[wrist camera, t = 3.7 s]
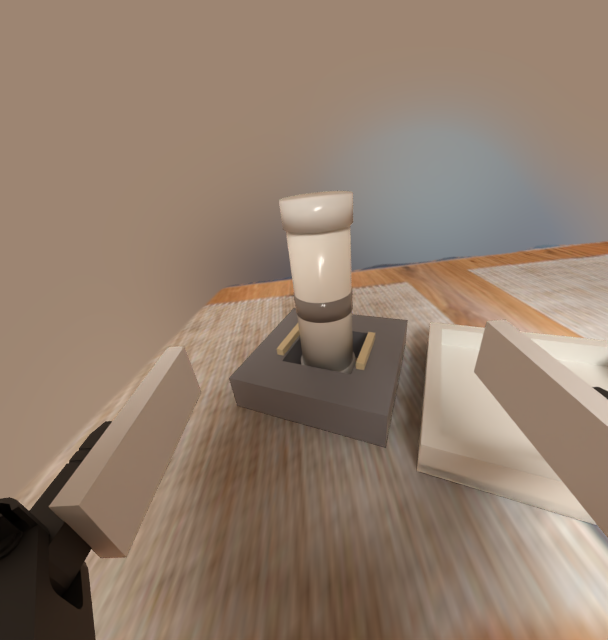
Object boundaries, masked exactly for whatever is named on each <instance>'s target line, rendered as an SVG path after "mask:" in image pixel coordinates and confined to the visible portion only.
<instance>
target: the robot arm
mask: <svg viewBox="0 0 608 640" xmlns="http://www.w3.org/2000/svg"><path fill="white" fill-rule="evenodd" d="M474 373H475V374H476V375H477V376H478V378H479V379H480V380H481V381H482V383H483V384H484V385H485V386H486V388H487V389H488V390H489V391H490V393H491V394H492V395H493V396H494V397H495V399H496V400H497V401H498V402H499V404H500V405H501V406H502V407H503V409H504V410H505V411H506V412H507V414H508V415H509V416H510V417H511V419H512V420H513V421H514V422H515V423H516V425H517V426H518V427H519V428H520V430H521V431H522V432H523V433H524V435H525V436H526V437H527V438H528V440H529V441H530V442H531V443H532V445H533V446H534V447H535V448H536V450H537V451H538V452H539V453H540V454H541V456H542V457H543V458H544V459H545V461H546V462H547V463H548V464H549V466H550V467H551V468H552V469H553V471H554V472H555V473H556V474H557V476H558V477H559V478H560V479H561V481H562V482H563V483H564V484H565V485H566V487H567V488H568V489H569V490H570V492H571V493H572V494H573V495H574V497H575V498H576V499H577V500H578V502H579V503H580V504H581V505H582V507H583V508H584V509H585V510H586V512H587V513H588V514H589V515H590V516H591V518H592V519H593V520H594V521H595V523H596V524H597V525H598V526H599V528H600V529H601V530H602V531H603V533H604V534H605V535H606V536H607V537H608V391H606V390H604V389H602V388H600V387H591V386H590V385H589V384H587V383H586V382H585V381H583V380H582V379H581V378H580V377H578V376H577V375H576V374H575V373H573V372H572V371H571V370H569V369H568V368H567V367H566V366H564V365H563V364H562V363H560V362H559V361H558V360H557V359H555V358H554V357H553V356H551V355H550V354H549V353H548V352H546V351H545V350H544V349H543V348H541V347H540V346H539V345H537V344H536V343H535V342H534V341H532V340H531V339H530V338H528V337H527V336H526V335H525V334H523V333H522V332H521V331H520V330H518V329H517V328H516V327H514V326H513V325H512V324H511V323H509V322H508V321H507V320H494V321H487V322H486V326H485V330H484V334H483V338H482V342H481V345H480V349H479V353H478V357H477V361H476V365H475V369H474ZM200 394H201V389H200V387H199V384H198V381H197V379H196V376H195V373H194V371H193V368H192V365H191V363H190V360H189V358H188V355H187V352H186V350H185V347H184V346H179V347H168V348H167V349H166V350H165V352H164V353H163V354H162V356H161V357H160V358H159V360H158V361H157V362H156V364H155V365H154V366H153V368H152V369H151V370H150V372H149V373H148V374H147V376H146V377H145V378H144V380H143V381H142V382H141V384H140V385H139V386H138V388H137V389H136V390H135V392H134V393H133V394H132V396H131V397H130V398H129V400H128V401H127V402H126V404H125V405H124V406H123V408H122V409H121V410H120V412H119V413H118V414H117V416H116V417H115V418H114V420H113V421H108V422H104V423H103V424H102V425H101V426H100V427H98V428H97V429H96V430H95V431H94V432H92V433H91V434H90V435H89V436H88V438H87V439H86V440H85V441H84V443H83V444H82V445H81V446H80V448H79V451H77V452H76V453H75V454H74V455H73V457H72V458H71V459H70V460H69V461H70V462H69V464H66V465H65V467H64V468H63V469H62V470H61V472H60V473H59V474H58V476H57V477H56V478H55V479H54V481H53V482H52V483H51V484H50V486H49V487H48V488H47V489H46V491H45V492H44V493H43V494H42V496H41V497H40V498H39V499H38V501H37V502H36V503H35V505H34V506H33V507H32V508H31V510H30V511H28V510H27V509H26V508H25V507H24V506H23V505H22V504H20V503H19V502H18V501H17V500H15V499H13V498H10V497H9V498H3V499H0V640H95V630H94V620H93V611H92V601H91V591H90V582H89V572H88V567H87V565H86V563H85V562H84V561H85V559H86V557H87V556H88V554H89V552H90V550H91V549H92V550H93V551H94V552H95V553H96V554H97V555H98V556H99V557H100V558H120V557H127V555H128V553H129V550H130V548H131V546H132V544H133V542H134V539H135V537H136V535H137V533H138V531H139V528H140V526H141V524H142V522H143V519H144V517H145V515H146V513H147V511H148V508H149V506H150V504H151V502H152V500H153V497H154V495H155V493H156V491H157V489H158V486H159V484H160V482H161V480H162V478H163V475H164V473H165V471H166V469H167V467H168V464H169V462H170V460H171V458H172V456H173V453H174V451H175V449H176V447H177V445H178V442H179V440H180V438H181V436H182V434H183V431H184V429H185V427H186V425H187V423H188V420H189V418H190V416H191V414H192V412H193V409H194V407H195V405H196V403H197V401H198V398H199V396H200Z"/></svg>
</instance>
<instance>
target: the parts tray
mask: <svg viewBox="0 0 608 640" xmlns="http://www.w3.org/2000/svg"><path fill="white" fill-rule="evenodd" d="M484 330H485V328H482V327H473V326H463V325H453V324H444V323H434V322H430V328H429V335H428V343H427V354H426V366H425V378H424V390H423V401H422V413H421V425H420V437H419V449H418V461H417V471H418V472H422V473H425V474H428V475H432V476H435V477H438V478H442V479H445V480H448V481H452V482H455V483H458V484H462V485H465V486H468V487H472V488H475V489H478V490H481V491H485V492H488V493H491V494H495V495H498V496H501V497H505V498H508V499H511V500H515V501H518V502H521V503H525V504H528V505H531V506H534V507H538V508H541V509H544V510H548V511H551V512H554V513H558V514H561V515H564V516H568V517H571V518H574V519H578V520H581V521H584V522H588V523H591V524H594V525H597V524H596V523H595V521H594V520H593V519H592V518H591V516H590V515H589V514H588V513H587V512H586V510H585V509H584V508H583V507H582V505H581V504H580V503H579V502H578V500H577V499H576V498H575V497H574V495H573V494H572V493H571V492H570V490H569V489H568V488H567V487H566V485H565V484H564V483H563V482H562V481H561V479H560V478H559V477H558V476H557V474H556V473H555V472H554V471H553V469H552V468H551V467H550V466H549V464H548V463H547V462H546V461H545V459H544V458H543V457H542V456H541V454H540V453H539V452H538V451H537V450H536V448H535V447H534V446H533V445H532V443H531V442H530V441H529V440H528V438H527V437H526V436H525V435H524V433H523V432H522V431H521V430H520V428H519V427H518V426H517V425H516V423H515V422H514V421H513V420H512V419H511V417H510V416H509V415H508V414H507V412H506V411H505V410H504V409H503V407H502V406H501V405H500V404H499V402H498V401H497V400H496V399H495V397H494V396H493V395H492V394H491V393H490V391H489V390H488V389H487V388H486V386H485V385H484V384H483V383H482V381H481V380H480V379H479V378H478V376H477V375H476V374H475V373H474V369H475V365H476V361H477V357H478V353H479V349H480V345H481V342H482V338H483V334H484ZM522 333H523V334H525V335H526V336H527V337H528V338H530V339H531V340H532V341H534V342H535V343H536V344H537V345H539V346H540V347H541V348H543V349H544V350H545V351H546V352H548V353H549V354H550V355H551V356H553V357H554V358H555V359H557V360H558V361H559V362H560V363H562V364H563V365H564V366H566V367H567V368H568V369H569V370H571V371H572V372H573V373H575V374H576V375H577V376H578V377H580V378H581V379H582V380H583V381H585V382H586V383H587V384H589V385H590V386H591V387H600V388H602V389H604V390H606V391H608V341H606V340H596V339H587V338H577V337H568V336H558V335H549V334H539V333H530V332H522ZM597 526H598V525H597Z"/></svg>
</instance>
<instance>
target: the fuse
mask: <svg viewBox="0 0 608 640" xmlns="http://www.w3.org/2000/svg"><path fill="white" fill-rule="evenodd" d="M279 205H280V211H281V219H282V226H283V230H284V231H286V233H287V242H288V249H289V257H290V264H291V272H292V280H293V287H294V300H295V307H296V314H297V318H298V325H299V333H300V340H301V348H302V357H301V365H306V366H311V367H316V368H321V369H327V370H332V371H337V372H342V373H348V374H351V373H352V371H353V368H354V366H355V354H354V352H353V333H352V309H353V302H352V286H351V241H350V225H351V224H352V223H353V193H352V192H350V191H328V192H317V193H308V194H301V195H296V196H291V197H286V198H283V199H280V200H279Z"/></svg>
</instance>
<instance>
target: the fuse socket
mask: <svg viewBox="0 0 608 640" xmlns="http://www.w3.org/2000/svg"><path fill="white" fill-rule="evenodd" d="M407 321H408V320H400V319H391V318H381V317H372V316H362V315H353V314H352V333H353V352H354V354H355V358H357V361H356V363H355V366H354V368H353V371H352V373H351V374H348V373H342V372H337V371H332V370H327V369H321V368H316V367H311V366H306V365H301V357H302V348H301V340H300V333H299V325H298V318H297V314H296V308H293V310H292V311H291V312H290V313H289V314H288V315H287V316H286V317H285V318H284V319H283V320H282V321H281V323H280V324H279V325H278V326H277V327H276V328H275V329H274V330H273V331H272V332H271V333H270V334H269V335H268V337H267V338H266V339H265V340H264V341H263V342H262V343H261V344H260V345H259V346H258V347H257V348H256V350H255V351H254V352H253V353H252V354H251V355H250V356H249V357H248V358H247V359H246V360H245V361H244V362H243V364H242V365H241V366H240V367H239V368H238V369H237V370H236V371H235V372H234V373H233V374H232V375H231V377H230V378H229V380H230V383H231V386H232V390H233V393H234V396H235V399H236V403H237V406H240V407H244V408H247V409H251V410H255V411H258V412H262V413H265V414H269V415H272V416H276V417H279V418H283V419H286V420H290V421H293V422H297V423H301V424H304V425H308V426H311V427H315V428H318V429H322V430H325V431H329V432H332V433H336V434H339V435H343V436H347V437H350V438H354V439H357V440H361V441H364V442H368V443H371V444H375V445H378V446H382V447H385V448H386V443H387V438H388V432H389V427H390V422H391V417H392V412H393V407H394V401H395V396H396V391H397V386H398V381H399V376H400V370H401V365H402V360H403V355H404V350H405V343H406V332H407Z"/></svg>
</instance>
